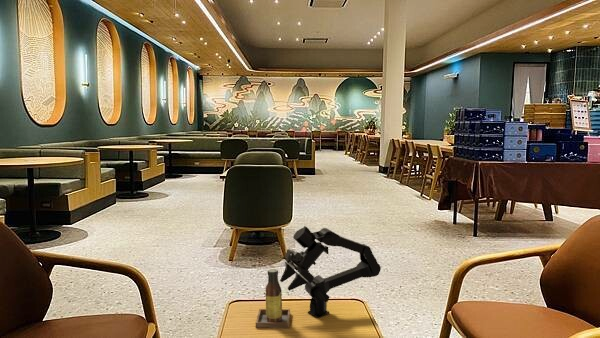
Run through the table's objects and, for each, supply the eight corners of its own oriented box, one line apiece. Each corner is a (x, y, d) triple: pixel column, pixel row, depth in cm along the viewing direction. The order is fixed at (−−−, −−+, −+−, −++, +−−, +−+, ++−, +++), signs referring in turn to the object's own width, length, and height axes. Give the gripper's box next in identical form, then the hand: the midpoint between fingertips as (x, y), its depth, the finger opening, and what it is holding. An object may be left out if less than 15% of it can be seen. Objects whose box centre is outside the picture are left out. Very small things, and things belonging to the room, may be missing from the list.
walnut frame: (259, 313, 182) (259, 309, 182) (290, 313, 182) (290, 309, 182) (255, 327, 170) (255, 322, 170) (288, 328, 170) (288, 323, 170)
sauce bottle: (284, 321, 175) (284, 271, 172) (270, 325, 172) (269, 274, 169) (277, 314, 180) (277, 266, 178) (263, 318, 177) (262, 269, 175)
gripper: (289, 236, 185) (263, 265, 182) (306, 248, 167) (277, 281, 165) (307, 253, 188) (282, 282, 186) (325, 267, 171) (298, 299, 168)
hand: (284, 285), depth 176 cm, fingers open, 9 cm apart
